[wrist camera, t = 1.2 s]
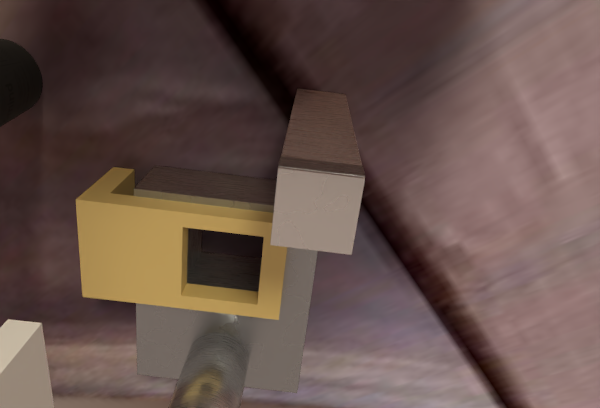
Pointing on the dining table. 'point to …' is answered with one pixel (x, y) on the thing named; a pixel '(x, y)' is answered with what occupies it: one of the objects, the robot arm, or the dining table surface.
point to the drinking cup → (17, 81)
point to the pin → (318, 176)
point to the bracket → (166, 250)
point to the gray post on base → (218, 326)
